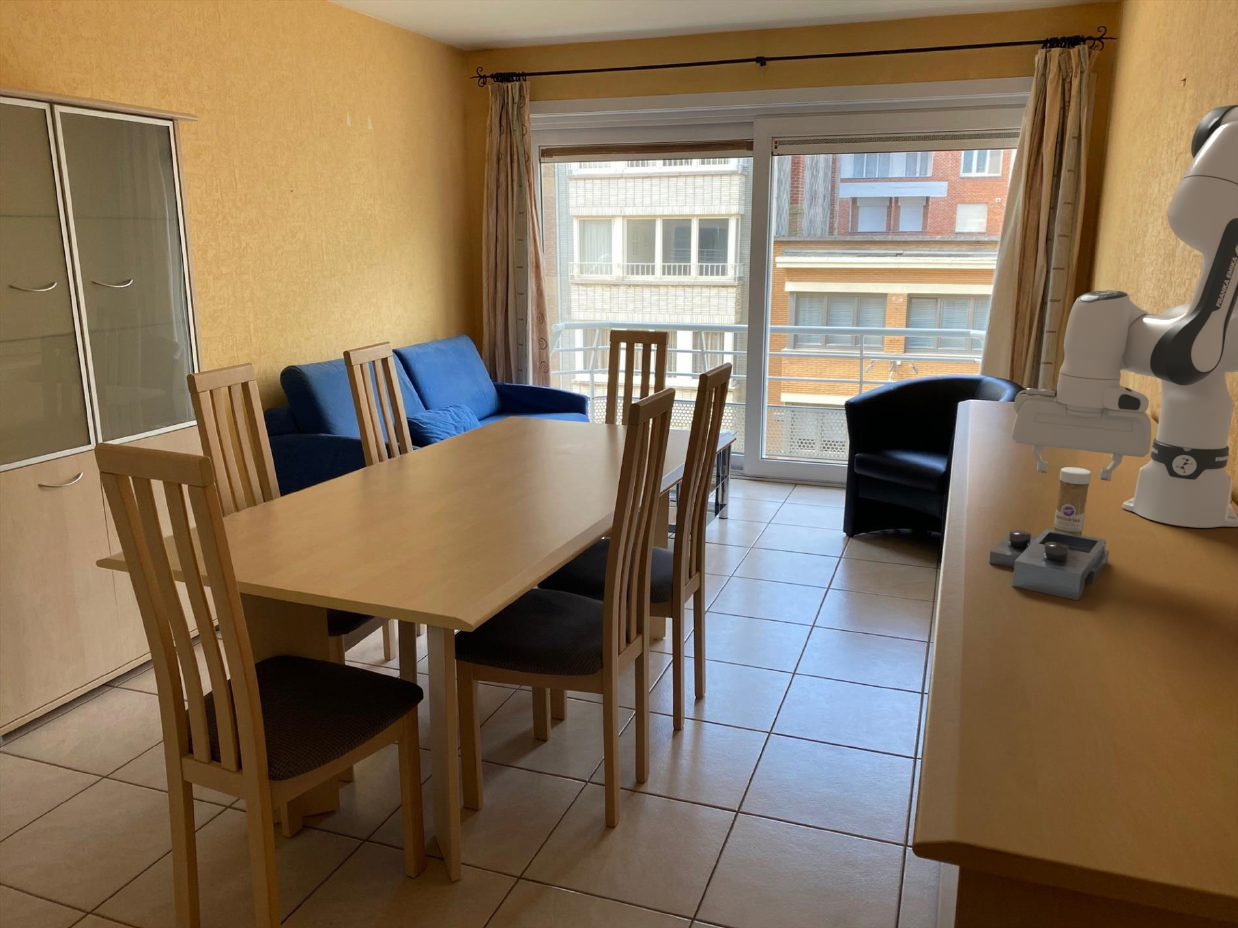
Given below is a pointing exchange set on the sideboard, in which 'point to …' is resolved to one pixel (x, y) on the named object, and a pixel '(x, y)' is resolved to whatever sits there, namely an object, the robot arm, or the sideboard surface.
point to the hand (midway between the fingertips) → (1072, 475)
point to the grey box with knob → (1057, 563)
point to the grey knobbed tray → (1021, 541)
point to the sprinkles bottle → (1072, 500)
